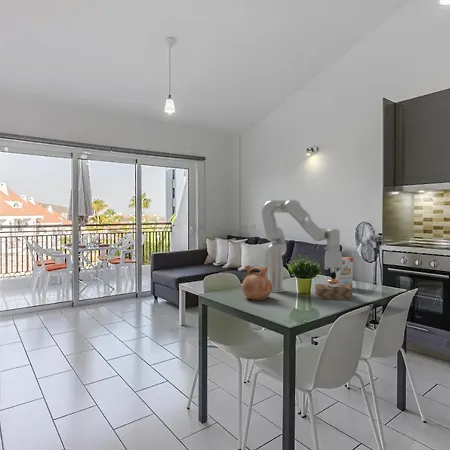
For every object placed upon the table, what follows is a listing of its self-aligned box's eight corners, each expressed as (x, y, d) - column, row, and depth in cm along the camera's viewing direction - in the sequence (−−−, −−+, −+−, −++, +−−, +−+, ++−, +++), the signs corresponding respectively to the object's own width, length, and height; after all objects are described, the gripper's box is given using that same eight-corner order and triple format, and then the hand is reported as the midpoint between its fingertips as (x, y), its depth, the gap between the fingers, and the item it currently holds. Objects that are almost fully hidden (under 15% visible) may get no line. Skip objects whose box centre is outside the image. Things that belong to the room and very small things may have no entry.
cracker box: (338, 290, 233) (338, 259, 233) (331, 288, 239) (331, 258, 238) (353, 288, 240) (353, 257, 240) (346, 286, 246) (346, 256, 245)
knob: (328, 292, 214) (328, 280, 214) (326, 289, 221) (326, 278, 221) (339, 292, 213) (339, 281, 213) (337, 289, 220) (337, 279, 220)
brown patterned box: (317, 298, 212) (317, 288, 211) (315, 293, 225) (315, 284, 225) (352, 299, 209) (352, 289, 209) (347, 294, 223) (347, 284, 222)
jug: (277, 297, 216) (277, 264, 215) (263, 303, 201) (263, 268, 200) (251, 293, 226) (251, 262, 226) (236, 299, 211) (236, 266, 211)
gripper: (321, 249, 213) (321, 279, 214) (347, 249, 211) (347, 280, 212) (319, 248, 221) (319, 277, 221) (344, 248, 219) (344, 278, 219)
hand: (333, 278), depth 217 cm, fingers closed
